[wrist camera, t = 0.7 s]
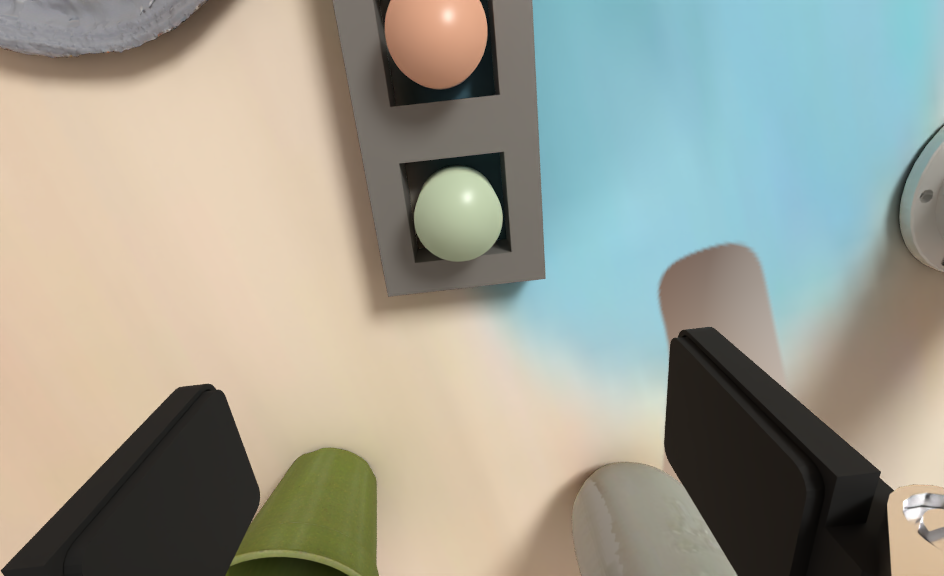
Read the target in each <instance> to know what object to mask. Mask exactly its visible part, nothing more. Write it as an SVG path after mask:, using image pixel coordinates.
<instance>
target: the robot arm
mask: <svg viewBox="0 0 944 576" xmlns="http://www.w3.org/2000/svg"><path fill="white" fill-rule="evenodd" d="M899 219H900V228H901V234H902V236H903V239H904V242H905V244H906V246H907V248H908V249H909V250H910V252H911V253H912V255H913V256H914V257H915V258H916V259H918V260H919V261H920V262H921V263H923V264H924V265H926V266H928V267H931V268H933V269H935V270H938V271H941V272H944V126H943V127H942V128H941V129H940V130H939V132H938V133H937V134H936V135H935V136H934V137H933V139H932V140H931V141H930V142H929V143H928V144H927V146H926V147H925V149H924V150H923V152H922V153H921V155H920V156H919V158H918V159H917V161H916V162H915V164H914V166H913V168H912V170H911V172H910V175H909V177H908V179H907V181H906V184H905V187H904V191H903V194H902V198H901V204H900V214H899ZM664 447H665V452H666V456H667V459H668V461H669V463H670V464H671V466H672V468H673V469H674V471H675V473H676V474H677V476H678V478H679V479H680V481H681V482H682V484H683V486H684V488H685V489H686V491H687V493H688V494H689V496H690V498H691V499H692V501H693V503H694V504H695V506H696V508H697V509H698V511H699V513H700V514H701V516H702V518H703V519H704V521H705V522H706V524H707V526H708V527H709V529H710V531H711V532H712V534H713V536H714V537H715V539H716V541H717V542H718V544H719V546H720V547H721V549H722V551H723V552H724V554H725V556H726V557H727V559H728V561H729V562H730V564H731V566H732V567H733V569H734V571H735V572H736V574H737V576H944V488H943V487H938V486H933V485H915V484H913V485H908V486H904V487H899V488H898V489H896V490H895V491H894V490H893V489H892V488H891V487H889V486H888V485H887V484H886V483H885V482H884V481H883V480H882V479H880V478H879V477H880V473H881V472H880V471H879V470H878V469H877V468H876V467H875V466H873V465H872V464H871V463H870V462H869V461H868V460H867V459H865V458H864V457H863V456H862V455H861V454H860V453H858V452H857V451H856V450H855V449H854V448H853V447H851V446H850V445H849V444H848V443H847V442H846V441H844V440H843V439H842V438H841V437H840V436H839V435H837V434H836V433H835V432H834V431H833V430H832V429H831V428H829V427H828V426H827V425H826V424H825V423H824V422H822V421H821V420H820V419H819V418H818V417H817V416H815V415H814V414H813V413H812V412H811V411H810V410H808V409H807V408H806V407H805V406H804V405H803V404H801V403H800V402H799V401H798V400H797V399H796V398H795V397H793V396H792V395H791V394H790V393H789V392H788V391H786V390H785V389H784V388H783V387H782V386H781V385H779V384H778V383H777V382H776V381H775V380H774V379H772V378H771V377H770V376H769V375H768V374H767V373H766V372H764V371H763V370H762V369H761V368H760V367H759V366H757V365H756V364H755V363H754V362H753V361H752V360H750V359H749V358H748V357H747V356H746V355H745V354H743V353H742V352H741V351H740V350H739V349H738V348H736V347H735V346H734V345H733V344H732V343H731V342H729V341H728V340H727V339H726V338H725V337H724V336H723V335H721V334H720V333H719V332H718V331H717V330H715V329H714V328H712V327H705V328H696V329H688V330H682V331H681V332H680V333H679V336H678V338H673V339H672V341H671V344H670V357H669V373H668V389H667V406H666V422H665V438H664ZM259 501H260V491H259V487H258V484H257V481H256V479H255V476H254V473H253V470H252V468H251V465H250V462H249V460H248V457H247V454H246V451H245V449H244V446H243V443H242V440H241V438H240V435H239V432H238V429H237V427H236V424H235V421H234V418H233V416H232V413H231V410H230V408H229V405H228V402H227V399H226V397H225V395H224V393H223V392H222V391H221V390H216V388H215V387H214V386H213V385H211V384H202V385H193V386H184V387H179V388H177V389H176V390H175V391H174V392H173V393H172V394H171V395H170V396H169V397H168V398H167V399H166V400H165V401H164V402H163V403H162V404H161V405H160V406H159V407H158V408H157V409H156V410H155V411H154V412H153V413H152V414H151V415H150V416H149V418H148V419H147V420H146V421H145V422H144V423H143V424H142V425H141V426H140V427H139V428H138V429H137V430H136V431H135V432H134V433H133V434H132V435H131V436H130V437H129V438H128V439H127V440H126V441H125V442H124V443H123V444H122V445H121V447H120V448H119V449H118V450H117V451H116V452H115V453H114V454H113V455H112V456H111V457H110V458H109V459H108V460H107V461H106V462H105V463H104V464H103V465H102V466H101V467H100V468H99V469H98V470H97V471H96V472H95V473H94V474H93V476H92V477H91V478H90V479H89V480H88V481H87V482H86V483H85V484H84V485H83V486H82V487H81V488H80V489H79V490H78V491H77V492H76V493H75V494H74V495H73V496H72V497H71V498H70V499H69V500H68V501H67V502H66V503H65V505H64V506H63V507H62V508H61V509H60V510H59V511H58V512H57V513H56V514H55V515H54V516H53V517H52V518H51V519H50V520H49V521H48V522H47V523H46V524H45V525H44V526H43V527H42V528H41V529H40V530H39V531H38V532H37V534H36V535H35V536H34V537H33V538H32V539H31V540H30V541H29V542H28V543H27V544H26V545H25V546H24V547H23V548H22V549H21V550H20V551H19V552H18V553H17V554H16V555H15V556H14V557H13V558H12V559H11V560H10V561H9V563H8V564H7V565H6V566H5V567H4V568H3V569H2V570H1V572H2V573H3V575H4V576H225V575H226V573H227V571H228V569H229V567H230V565H231V563H232V561H233V559H234V557H235V555H236V552H237V550H238V548H239V546H240V544H241V542H242V540H243V538H244V536H245V534H246V532H247V530H248V527H249V525H250V523H251V521H252V519H253V517H254V515H255V513H256V511H257V509H258V506H259Z"/></svg>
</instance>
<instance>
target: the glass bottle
mask: <svg viewBox="0 0 944 576" xmlns="http://www.w3.org/2000/svg"><path fill="white" fill-rule="evenodd" d="M572 533H573V541H574V548H575V553H576V557H577V561H578V565H579V569H580V573H581V576H737V574H736V572H735V571H734V569H733V567H732V566H731V564H730V562H729V561H728V559H727V557H726V556H725V554H724V552H723V551H722V549H721V547H720V546H719V544H718V542H717V541H716V539H715V537H714V536H713V534H712V532H711V531H710V529H709V527H708V526H707V524H706V522H705V521H704V519H703V518H702V516H701V514H700V513H699V511H698V509H697V508H696V506H695V504H694V503H693V501H692V499H691V498H690V496H689V494H688V493H687V491H686V489H685V488H684V486H683V485H682V484H681V483H679V482H678V481H677V480H676V479H674V478H673V477H671V476H670V475H669V474H666V473H665V472H663V471H661V470H659V469H657V468H655V467H652V466H649V465H645V464H640V463H632V462H618V463H612V464H609V465H605V466H603V467H601V468H599V469H598V470H596V471H595V472H594V473H593V474H592V475H591V476H590V477H589V478H588V479H587V480H586V481H585V482H584V484H583V486H582V487H581V489H580V491H579V492H578V494H577V496H576V499H575V501H574V504H573V511H572Z"/></svg>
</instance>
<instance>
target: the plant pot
mask: <svg viewBox="0 0 944 576" xmlns="http://www.w3.org/2000/svg"><path fill="white" fill-rule="evenodd" d="M376 548H377V484H376V477H375V476H374V474H373V472H372V470H371V469H370V467H369V465H368V463H367V462H366V461H365V460H363V459H362V458H360V457H359V456H357V455H356V454H354V453H352V452H349V451H346V450H342V449H337V448H322V449H319V450H317V451H314V452H311V453H307V454H303V455H302V456H300V457H299V458H298V459H297V460H296V461H295V462H294V463H293V464H292V466H291V467H290V469H289V470H288V471H287V473H286V474H285V476H284V477H283V479H282V480H281V481H280V483H279V484H278V486H277V487H276V489H275V490H274V491H273V493H272V494H271V496H270V497H269V499H268V500H267V501H266V503H265V504H264V506H263V507H262V509H261V510H260V511H259V513H258V514H257V516H256V517H255V519H254V520H253V521H252V523H251V524H250V526H249V527H248V530H247V532H246V534H245V536H244V538H243V540H242V542H241V544H240V546H239V548H238V550H237V552H236V555H235V557H234V559H233V561H232V563H231V565H230V567H229V569H228V571H227V573H226V575H225V576H379V574H378V570H377V566H376Z"/></svg>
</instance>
